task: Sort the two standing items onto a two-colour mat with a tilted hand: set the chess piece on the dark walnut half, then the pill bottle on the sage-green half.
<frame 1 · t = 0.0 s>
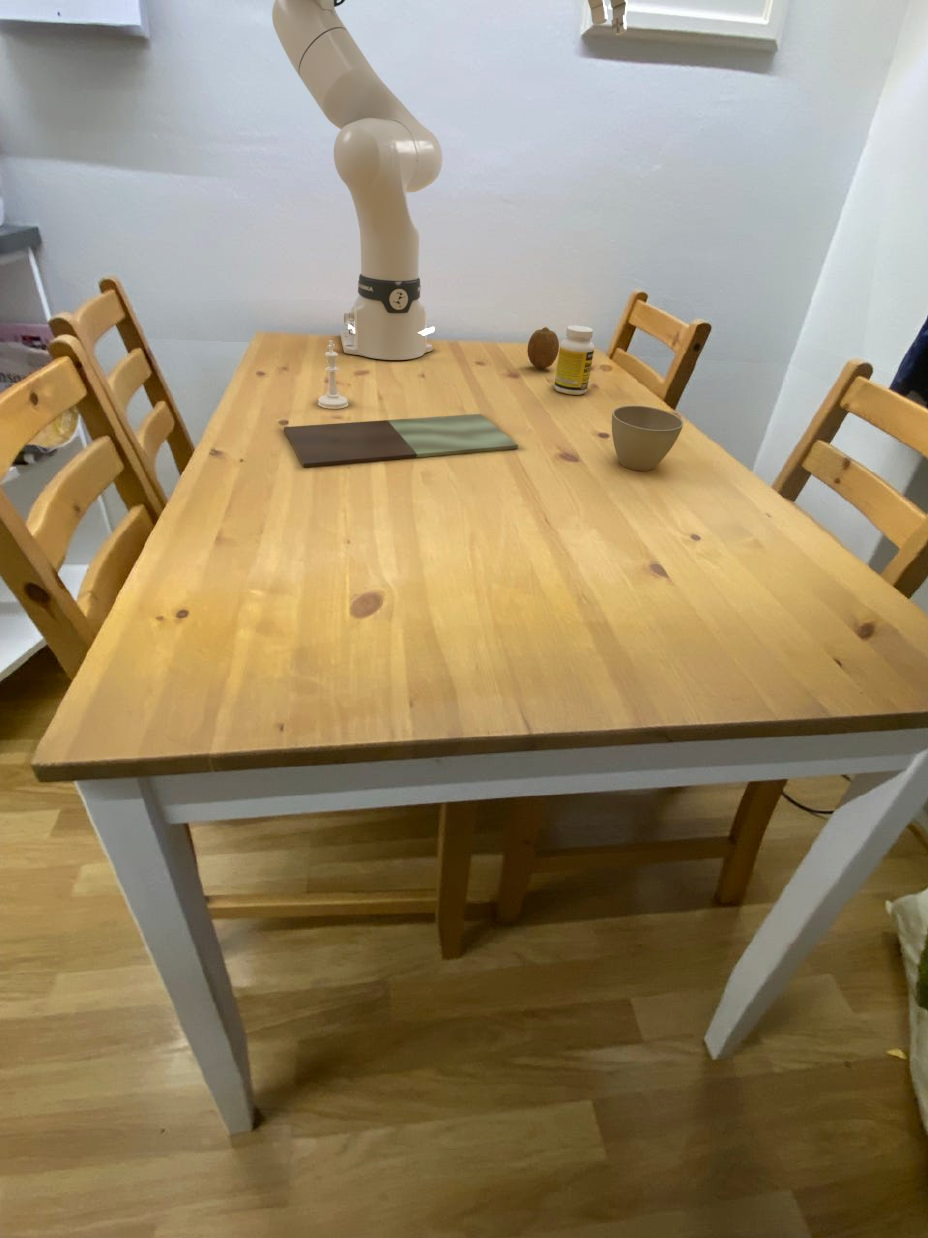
hand: (610, 28, 101), 52 cm above the table, tool tilted 20°, fingers open, 8 cm apart
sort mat: (401, 439, 104), on the table
chess piece: (333, 405, 115), on the table
pill bottle: (570, 391, 131), on the table
fruit: (540, 369, 141), on the table
flower pot: (636, 465, 103), on the table
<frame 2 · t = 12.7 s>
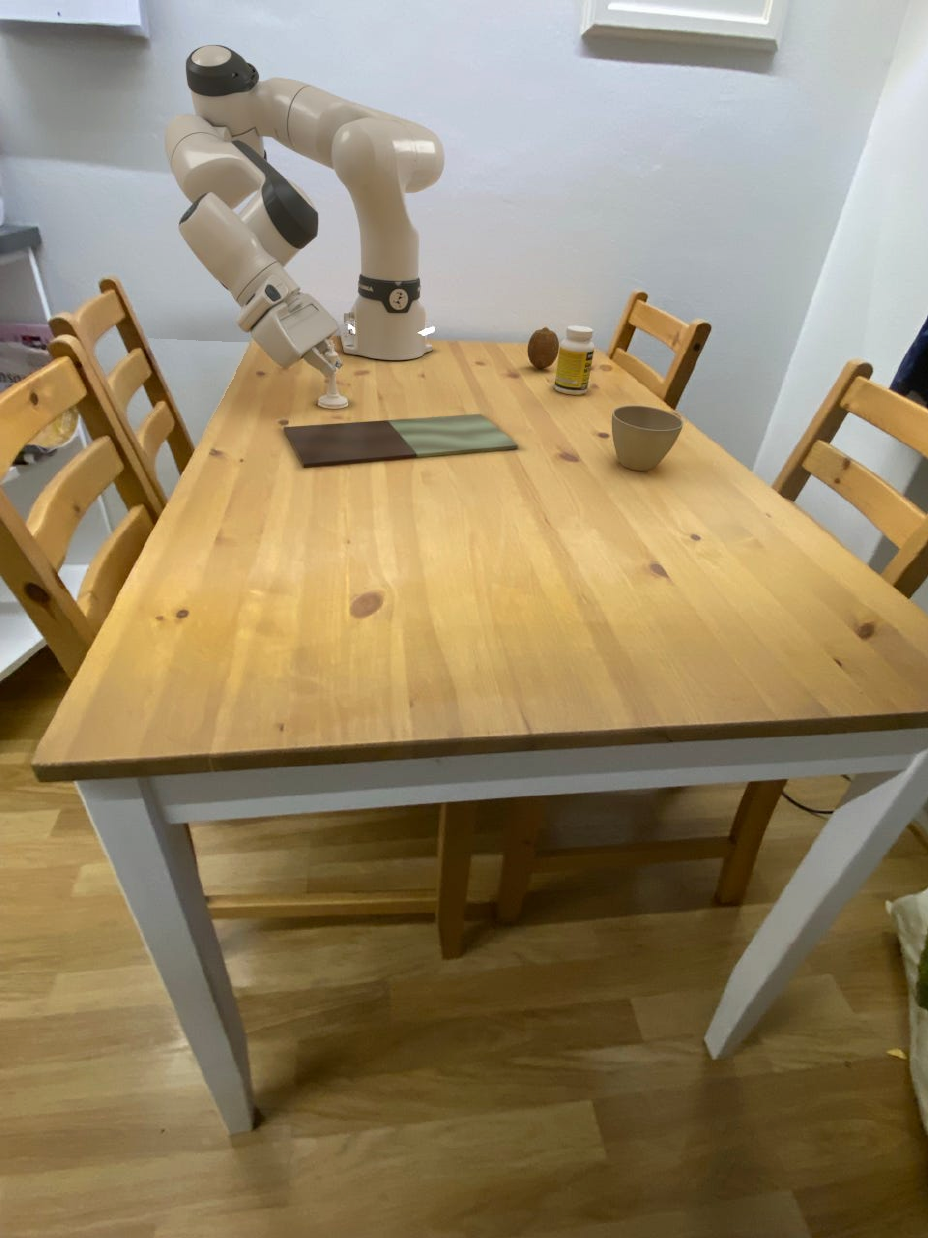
hand: (335, 371, 112), 5 cm above the table, tool tilted 45°, fingers closed on chess piece
chess piece: (333, 405, 115), on the table, touching gripper
everything else where it was.
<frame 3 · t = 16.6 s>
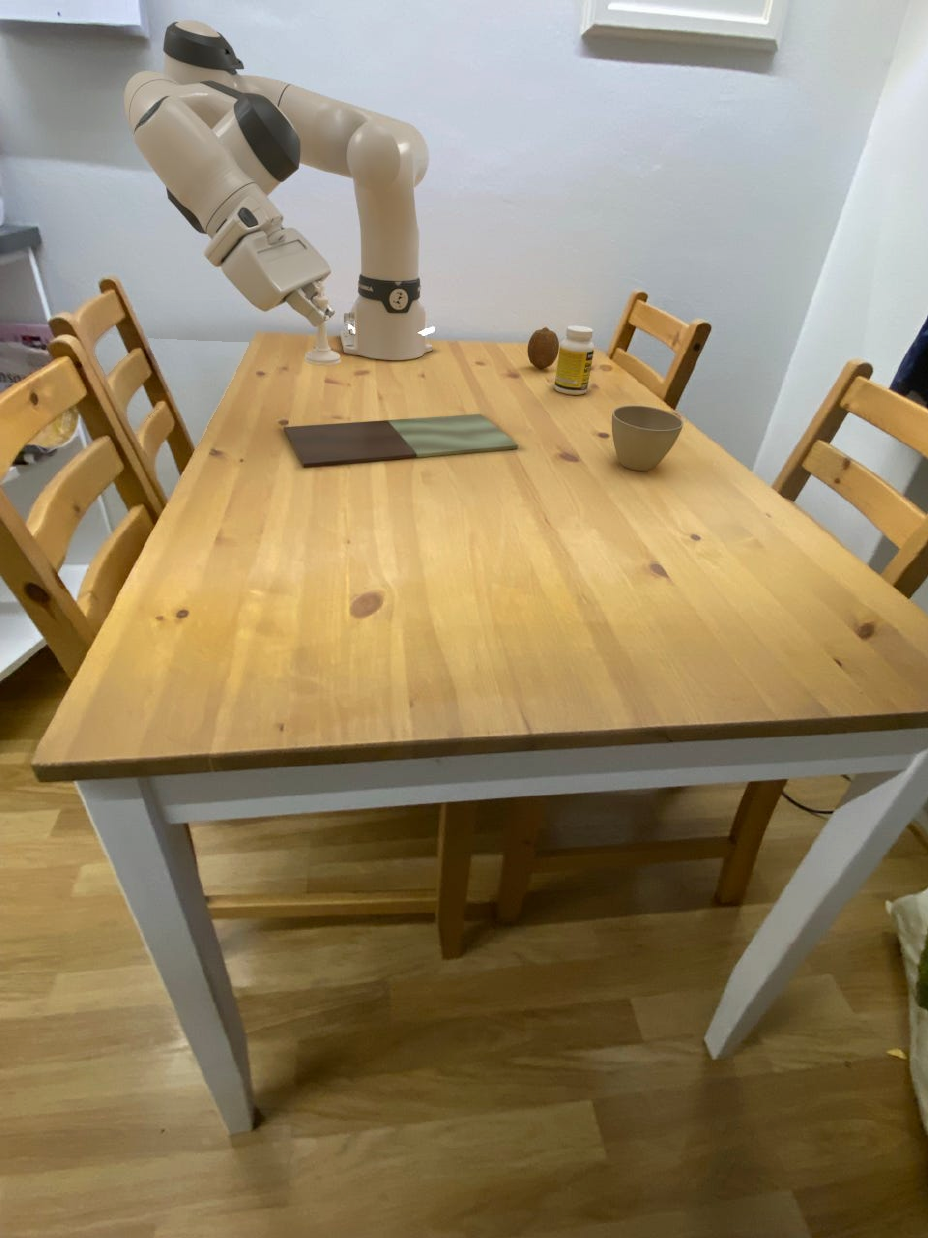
hand: (325, 320, 93), 16 cm above the table, tool tilted 45°, fingers closed on chess piece
chess piece: (322, 361, 97), point 11 cm above the table, touching gripper
everything else where it was.
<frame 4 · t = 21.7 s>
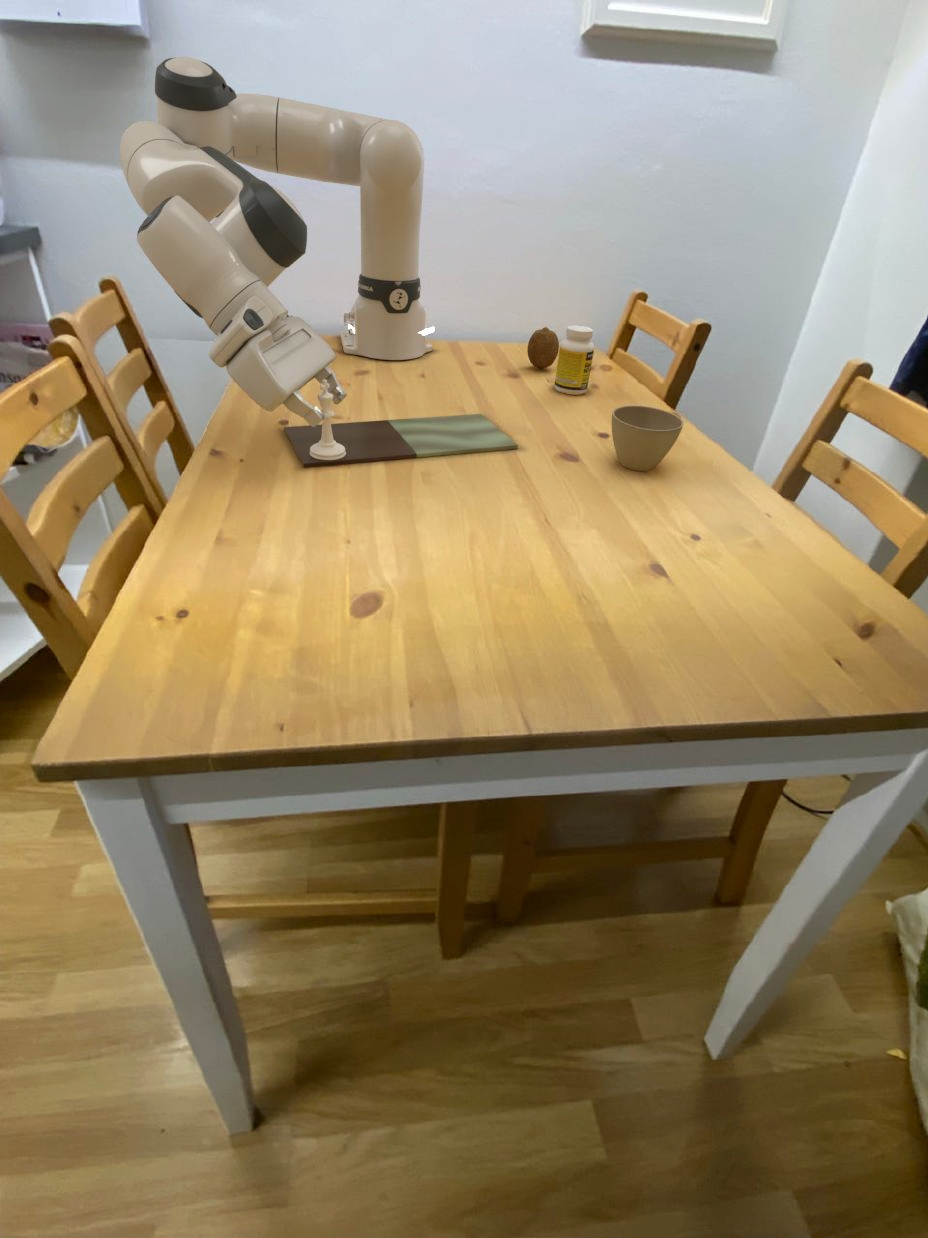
hand: (331, 410, 92), 7 cm above the table, tool tilted 45°, fingers open, 8 cm apart
chess piece: (327, 454, 96), resting on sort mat
everything else where it was.
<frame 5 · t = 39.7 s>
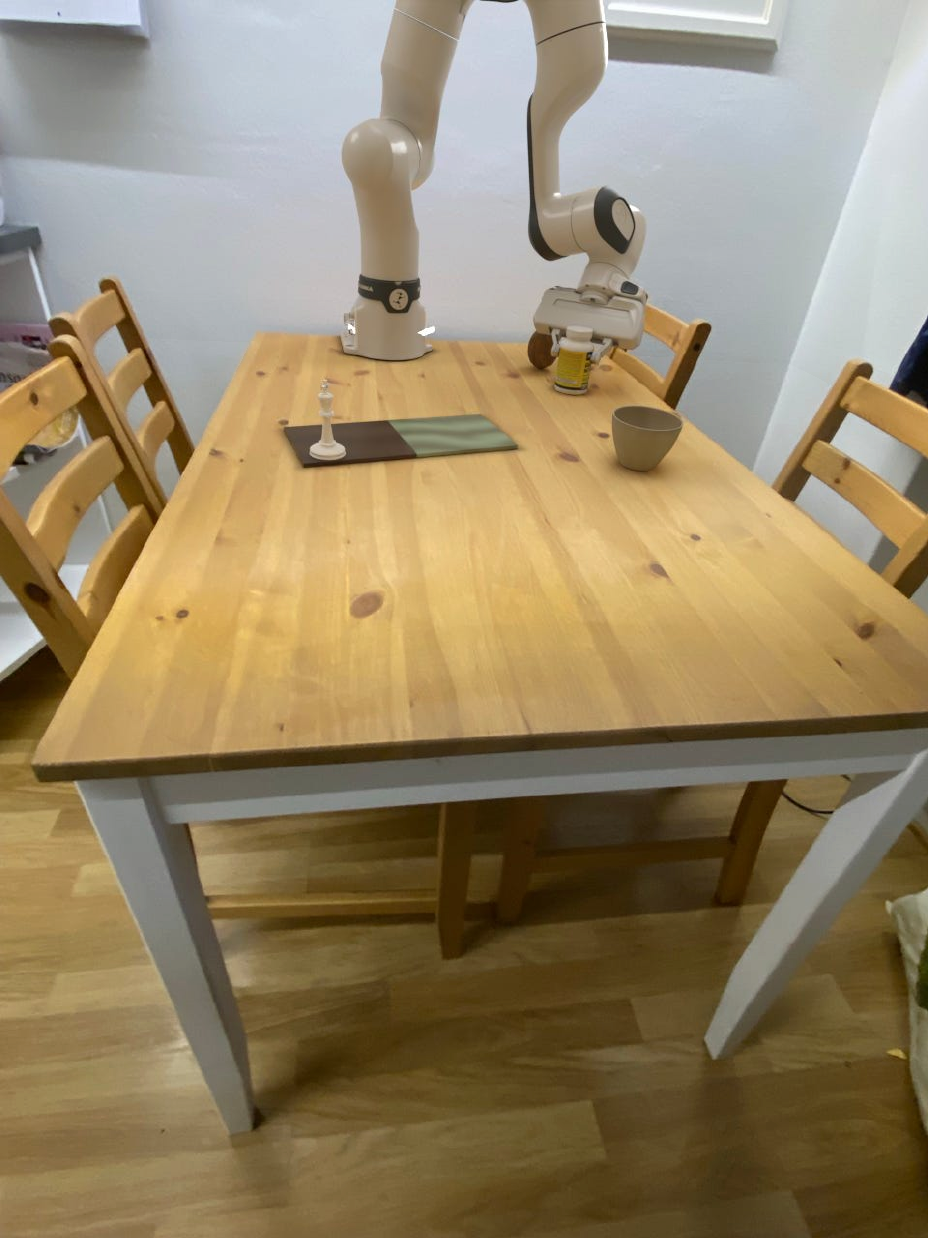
hand: (574, 358, 127), 6 cm above the table, tool tilted 45°, fingers closed on pill bottle, 6 cm apart
pill bottle: (570, 391, 131), on the table, touching gripper
everything else where it was.
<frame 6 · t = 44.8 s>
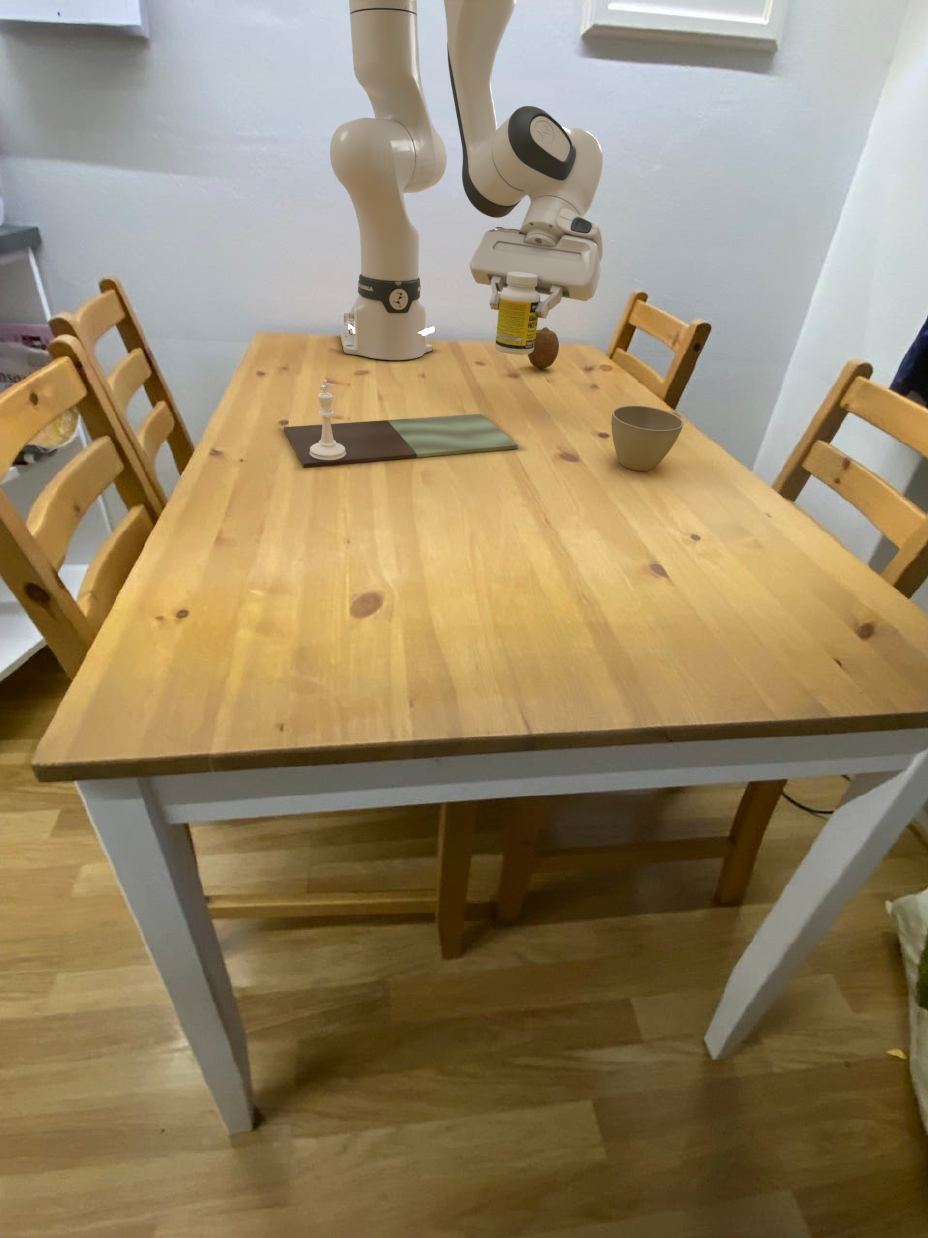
hand: (517, 311, 107), 16 cm above the table, tool tilted 45°, fingers closed on pill bottle, 6 cm apart
pill bottle: (514, 351, 110), point 10 cm above the table, touching gripper
everything else where it was.
when the fingers open (6 cm above the table, at t = 50.0 s): pill bottle stays where it is, resting on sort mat.
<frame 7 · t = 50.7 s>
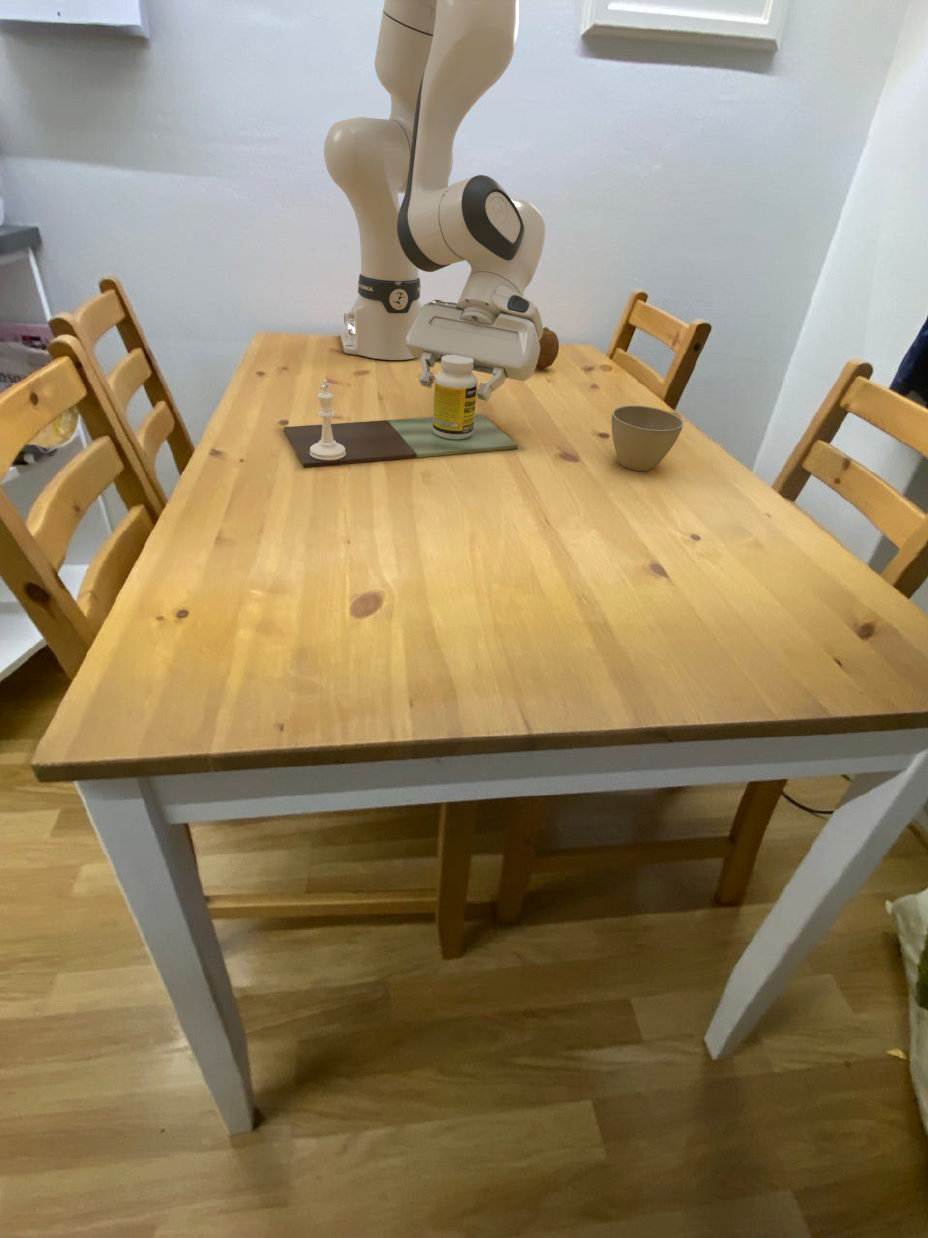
hand: (453, 391, 102), 7 cm above the table, tool tilted 45°, fingers open, 8 cm apart
pill bottle: (452, 434, 106), resting on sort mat
everything else where it was.
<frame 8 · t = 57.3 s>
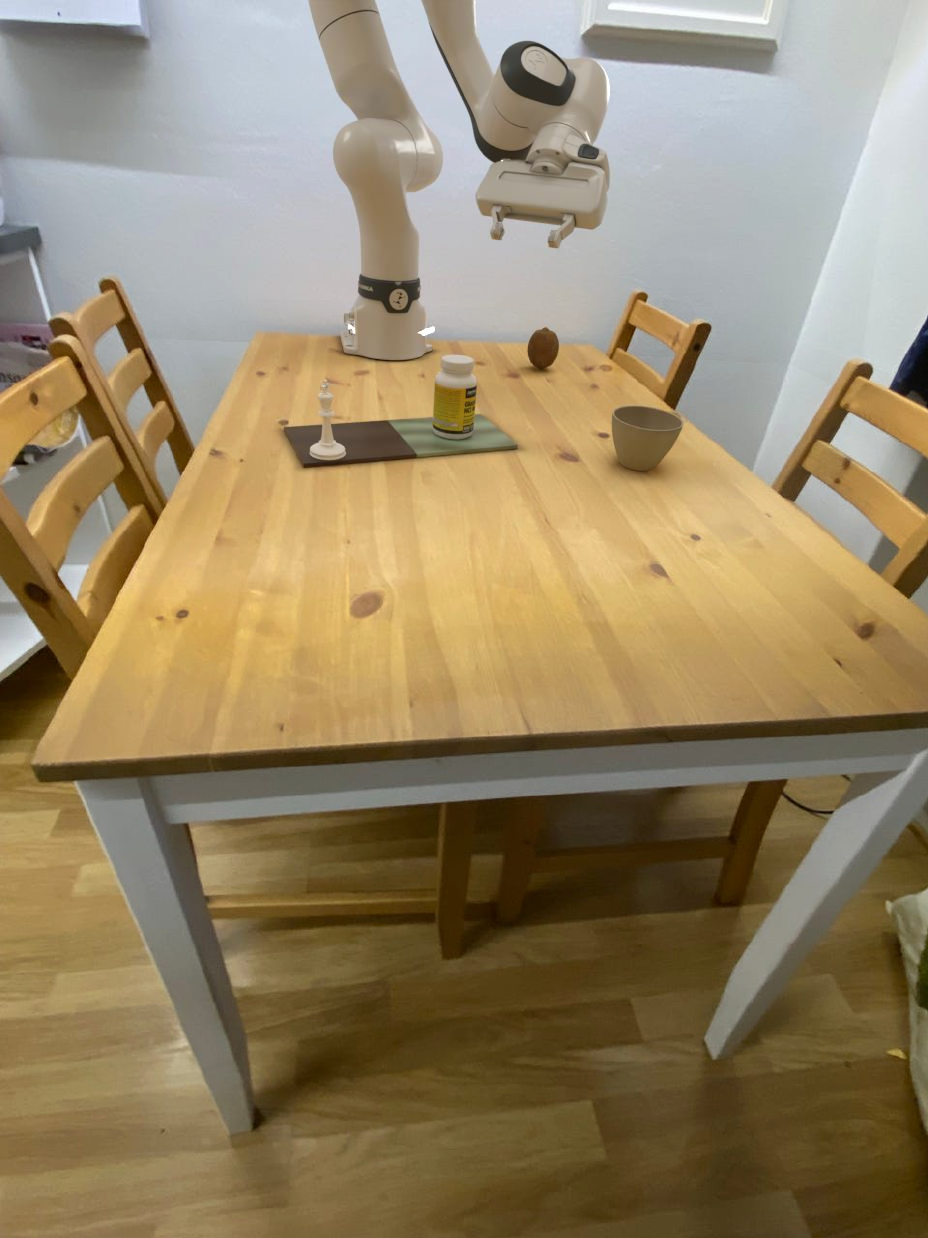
hand: (523, 240, 105), 25 cm above the table, tool tilted 45°, fingers open, 8 cm apart
nothing on the table moved.
at the end: chess piece inside the target area on the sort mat (5.6 cm from its centre), point 0.4 cm above the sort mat's base; pill bottle inside the target area on the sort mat (0.7 cm from its centre), point 0.4 cm above the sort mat's base; chess piece tilted 0° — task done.
